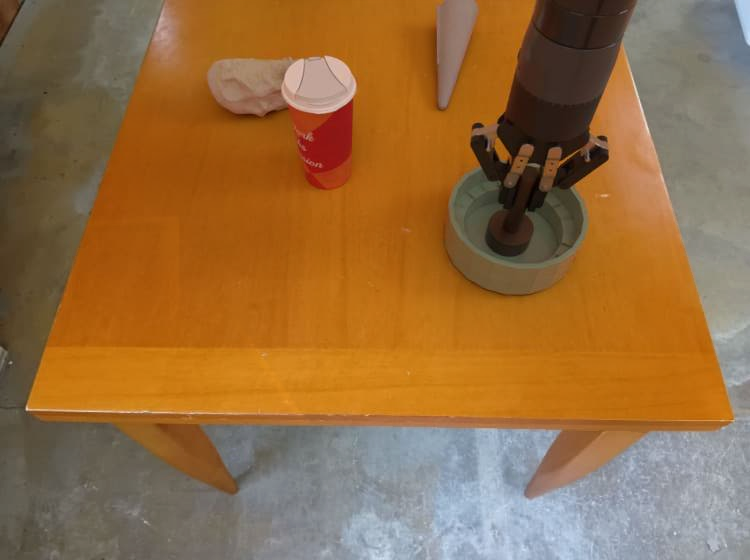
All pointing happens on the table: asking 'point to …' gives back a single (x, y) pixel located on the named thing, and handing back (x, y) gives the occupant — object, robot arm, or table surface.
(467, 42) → the long tapered cone
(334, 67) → the coffee cup
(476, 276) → the bowl
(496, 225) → the brown capped cylinder
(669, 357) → the table surface
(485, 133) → the robot arm
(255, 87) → the pale crumpled lump
